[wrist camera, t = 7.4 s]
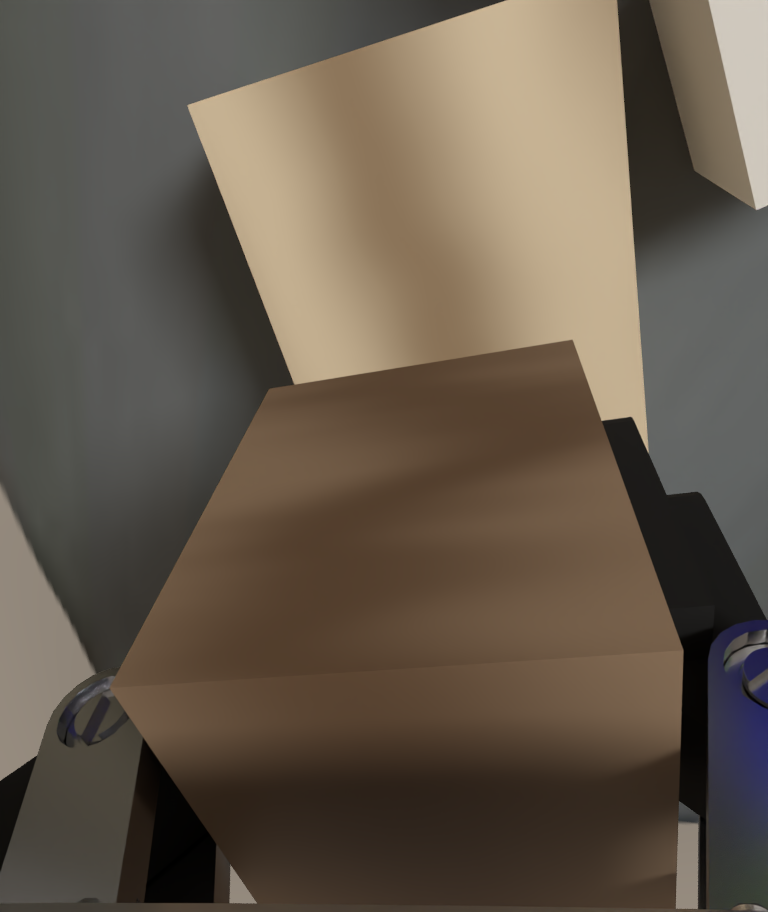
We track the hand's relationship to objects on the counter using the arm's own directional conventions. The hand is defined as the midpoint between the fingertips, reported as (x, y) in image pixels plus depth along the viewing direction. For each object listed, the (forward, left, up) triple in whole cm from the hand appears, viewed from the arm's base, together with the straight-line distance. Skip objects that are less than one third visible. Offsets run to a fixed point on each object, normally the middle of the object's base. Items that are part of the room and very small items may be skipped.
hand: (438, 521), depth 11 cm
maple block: (0, 0, -13) cm, 13 cm away
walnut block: (0, 0, -1) cm, 1 cm away
